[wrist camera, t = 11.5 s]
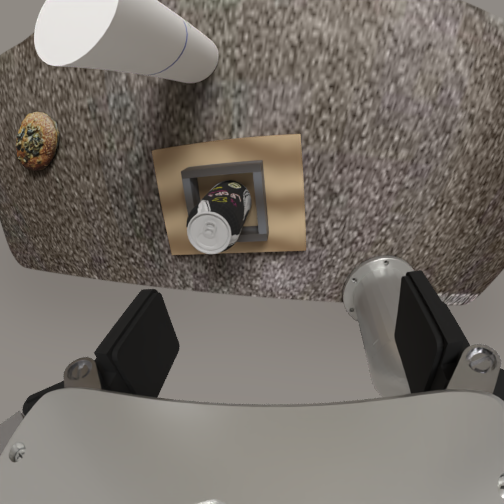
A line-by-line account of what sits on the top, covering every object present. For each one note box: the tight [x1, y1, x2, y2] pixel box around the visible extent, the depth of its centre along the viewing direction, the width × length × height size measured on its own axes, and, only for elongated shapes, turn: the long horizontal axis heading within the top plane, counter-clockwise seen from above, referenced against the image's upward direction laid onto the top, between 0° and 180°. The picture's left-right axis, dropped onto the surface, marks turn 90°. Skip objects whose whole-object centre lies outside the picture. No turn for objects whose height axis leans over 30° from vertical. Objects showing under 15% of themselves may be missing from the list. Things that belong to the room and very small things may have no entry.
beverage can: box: [186, 180, 252, 254], centre depth 35 cm, size 6×6×12 cm
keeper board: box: [152, 134, 306, 255], centre depth 40 cm, size 16×20×4 cm
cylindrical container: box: [34, 0, 218, 83], centre depth 22 cm, size 7×7×25 cm
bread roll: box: [16, 112, 59, 171], centre depth 39 cm, size 11×11×5 cm
